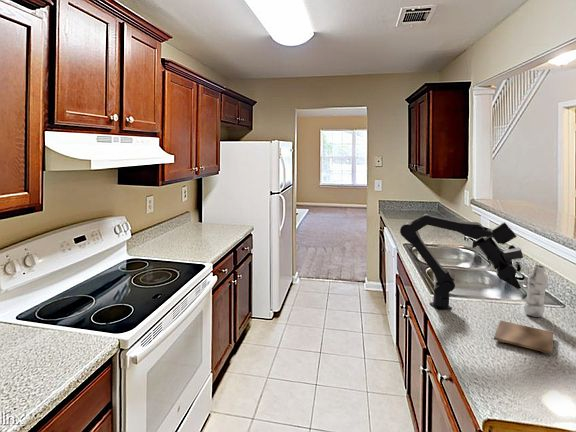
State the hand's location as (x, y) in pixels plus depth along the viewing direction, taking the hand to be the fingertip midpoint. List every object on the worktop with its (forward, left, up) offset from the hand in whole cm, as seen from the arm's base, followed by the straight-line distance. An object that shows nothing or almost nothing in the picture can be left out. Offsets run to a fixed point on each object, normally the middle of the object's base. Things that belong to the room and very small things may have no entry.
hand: (517, 284), depth 144 cm
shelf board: (+17, -10, -13) cm, 24 cm away
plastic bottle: (0, +9, -14) cm, 16 cm away
